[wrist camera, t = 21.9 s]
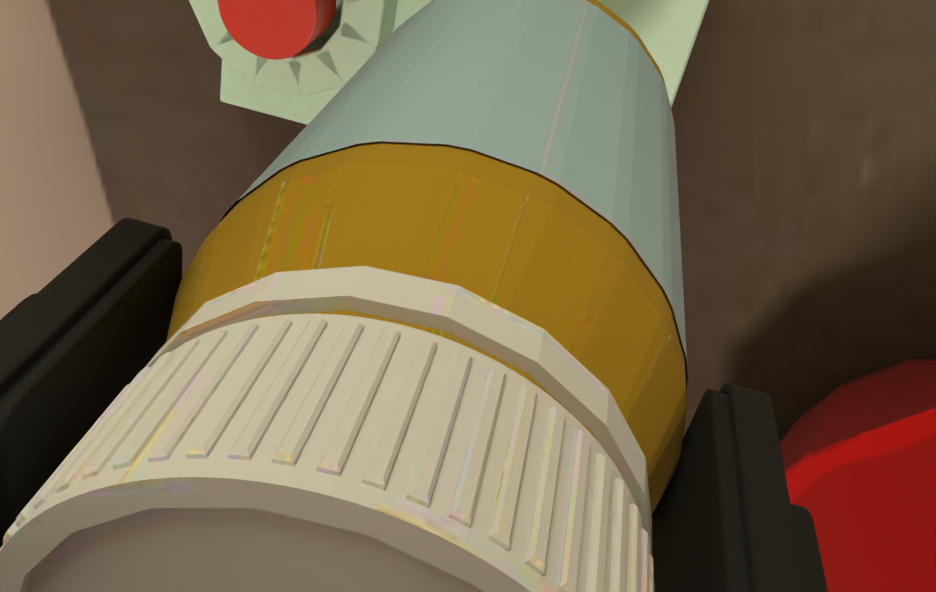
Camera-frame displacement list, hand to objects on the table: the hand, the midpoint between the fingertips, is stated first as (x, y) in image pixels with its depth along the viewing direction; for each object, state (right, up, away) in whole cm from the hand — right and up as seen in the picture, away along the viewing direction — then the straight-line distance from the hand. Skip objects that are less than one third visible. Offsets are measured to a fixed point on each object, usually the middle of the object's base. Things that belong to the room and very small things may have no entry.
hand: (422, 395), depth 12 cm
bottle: (+2, +5, +9) cm, 10 cm away
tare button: (-4, +10, +13) cm, 17 cm away
